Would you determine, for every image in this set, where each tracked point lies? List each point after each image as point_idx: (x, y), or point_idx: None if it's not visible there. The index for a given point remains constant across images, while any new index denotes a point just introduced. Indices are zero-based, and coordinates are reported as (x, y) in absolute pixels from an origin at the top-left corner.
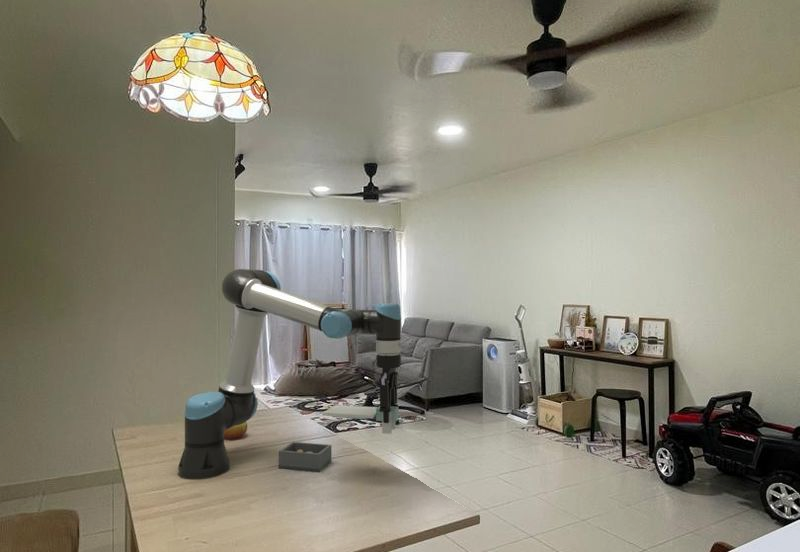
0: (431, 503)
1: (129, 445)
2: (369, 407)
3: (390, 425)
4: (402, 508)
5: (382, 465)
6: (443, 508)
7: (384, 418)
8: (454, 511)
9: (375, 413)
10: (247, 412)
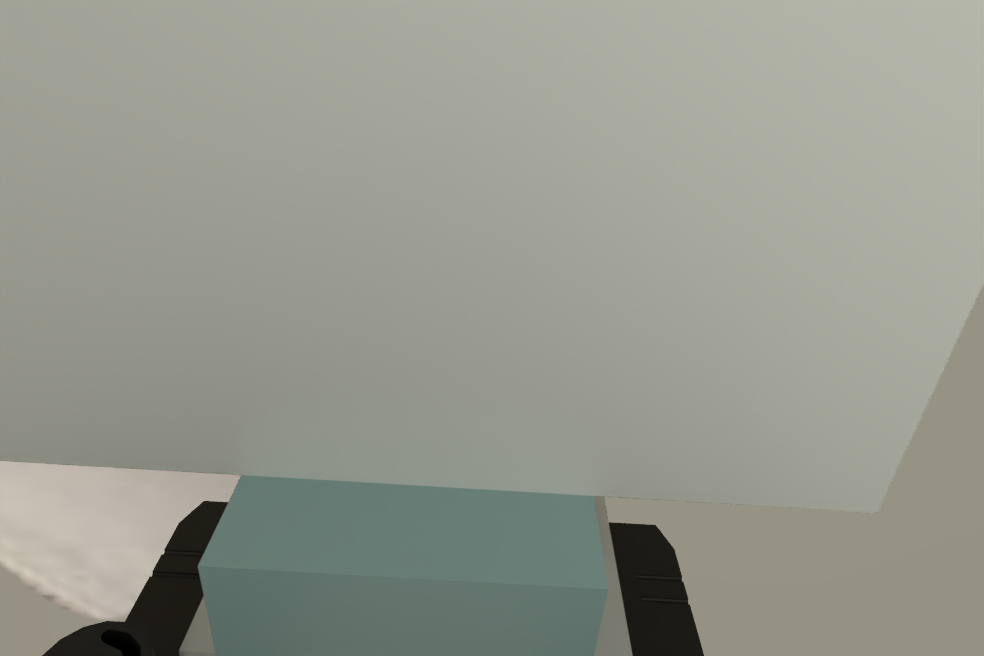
0: (153, 482)
1: None
2: (940, 158)
3: None
4: None
5: None
6: (122, 531)
7: (160, 584)
8: (113, 570)
9: (187, 471)
10: None
